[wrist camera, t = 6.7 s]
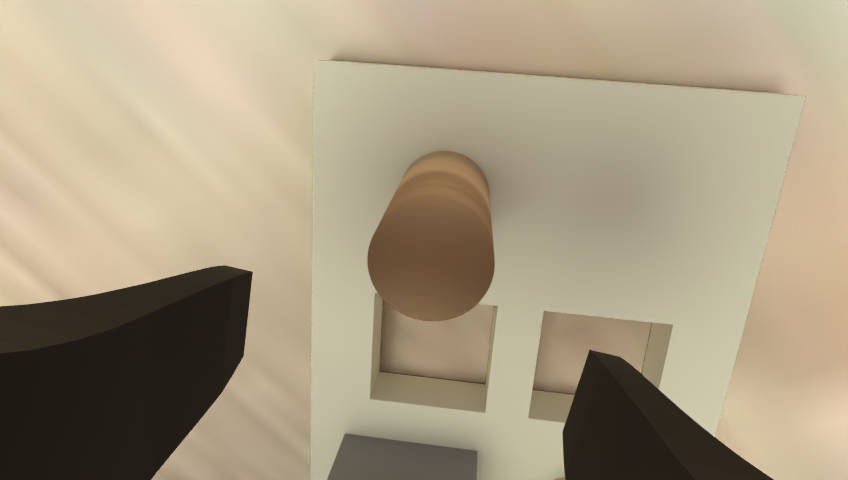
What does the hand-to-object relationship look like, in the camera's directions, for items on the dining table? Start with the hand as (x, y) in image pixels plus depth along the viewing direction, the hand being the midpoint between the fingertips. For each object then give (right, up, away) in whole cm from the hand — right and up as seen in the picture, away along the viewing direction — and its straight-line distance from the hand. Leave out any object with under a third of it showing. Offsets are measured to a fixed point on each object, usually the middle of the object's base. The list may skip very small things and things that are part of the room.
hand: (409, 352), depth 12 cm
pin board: (+4, -1, +11) cm, 11 cm away
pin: (+1, +4, +7) cm, 8 cm away
